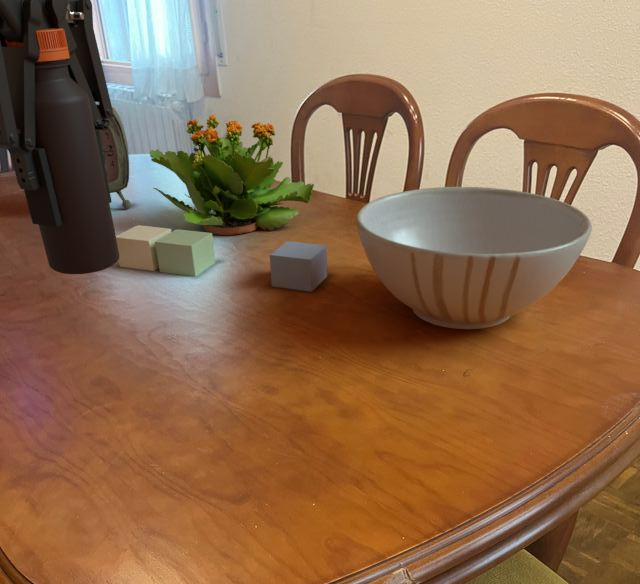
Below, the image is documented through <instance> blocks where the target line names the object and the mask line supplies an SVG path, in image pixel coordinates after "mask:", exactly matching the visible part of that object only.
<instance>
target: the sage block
mask: <svg viewBox="0 0 640 584" xmlns="http://www.w3.org/2000/svg"><path fill="white" fill-rule="evenodd" d="M171 232H172V233H170V234H168V235H166V236H164V237H163V238H161V239H159V240H157V241H156V242H155V245H156V251H157V257H158V263H159V268H158V269H159V272H160V273H165V274H174V275H181V276H189V277H197V276H199V275H200V274H201V273H203V272H204V271H206V270H207V269H208V268H210V267H211V266H213V265H215V263H216V254H215V247H214V236H213V233H210V232H208V231H197V230H187V229H186V230H185V229H178V228H177V229H175V230H173V231H171Z"/></svg>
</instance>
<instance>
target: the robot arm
mask: <svg viewBox="0 0 640 584" xmlns="http://www.w3.org/2000/svg"><path fill="white" fill-rule="evenodd" d="M93 16H94V15H93V3H92V1H91V0H0V149H4V150H5V149H6V150H7V151H8V153H9V154H10V158H11V164H12V166H13V170H14V174H15V177H16V181H17V185H18V187H19V188H20V189H21V190H23V191H24V195H25V199H26V203H27V208H28V211H29V214H30V218H31V222H32V224H33V225H38V226H39V225H46V226H54V227H58V226H60V225H62V221H61V216H60V212H59V208H58V204H57V200H56V195H55V191H54V187H53V183H52V178H51V174H50V170H49V166H48V162H47V157H46V153H45V149H44V148H35V145H36V138H35V63H36V61H38V60H39V56H40V51H39V50H40V48H39V43H38V39H37V34H36V31H39V30H44V29H60V28H63V29H64V31H65V36H66V41H67V46H68V51H69V56H70V58H68V59H66V60H67V61H70V64H69V65H67V66H68V71H69V76H70V78H71V79H72V80H74V81H75V82H76V83H77V84H78V85H79V86H80V87H81V88H82V89H83V90H84V91H85V92H86V93H87V95H88V97H89V100H90V105H91V111H92V116H93V121H94V126H95V131H96V136H97V142H98V147H99V152H100V157H101V162H102V168H103V173H104V178H105V183H106V188H107V193H108V199H109V204H111V203H112V202H113V201H112V197H111V193H110V191H109V185H108V180H107V175H106V170H105V153H104V148H103V143H102V137H101V132H100V130H108V129H109V126H110V122H109V120H106V119H111V118H112V116H113V109H112V107H113V106H112V105H113V104H112V102H111V98H110V92H109V90H108V88H109V87H108V85H107V80H106V76H105V72H104V67H103V63H102V60H101V55H100V51H99V46H98V43H97V38H96V34H95V30H94V17H93ZM4 37H5V38H4ZM5 39H6V40H7V41H8V42H10V43H11V42H12V43H13V42H16V43H17V42H18V43H22V42H23V46H22V47H7V46H6V42H5ZM97 103H98V104H99V105H96V104H97ZM17 129H19V130H20V133H17Z"/></svg>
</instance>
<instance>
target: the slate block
mask: <svg viewBox="0 0 640 584" xmlns="http://www.w3.org/2000/svg"><path fill="white" fill-rule="evenodd" d="M269 265H270V280H271V287H274V288H281V289H289V290H296V291H304V292H314V290H315V289H316V288H317V287H319V285H321V283H322V282H323V281H324V280H325V279H326V278H327V277H328V246H327V245H326V244H320V243H319V244H318V243H309V242H301V241H300V242H299V241H292V240H291V241H289V240H287V241H286V242H284V243H283V244H282V245H280V246H279V247H278V248H276V249H275V250H274V251H273V252H272V253H270V254H269Z"/></svg>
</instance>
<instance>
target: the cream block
mask: <svg viewBox="0 0 640 584" xmlns="http://www.w3.org/2000/svg"><path fill="white" fill-rule="evenodd" d="M172 232H173V231H172V229H171V228H167V227H160V226H159V227H158V226H149V225H139V224H138V225H135V226H133V227H131V228H129V229H128V230H126V231H123V232H121V233H120V234H118V235H117V234H116V240H117V245H118V250H119V259H118V264H119V267H120V268H127V269H129V268H130V269H136V270H143V271H151V272H155V271H156V270H158V269H159V263H158V257H157V251H156V245H155V242H156V241H157V240H159V239H161V238H163V237H164V236H166V235H168V234H170V233H172Z"/></svg>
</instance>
